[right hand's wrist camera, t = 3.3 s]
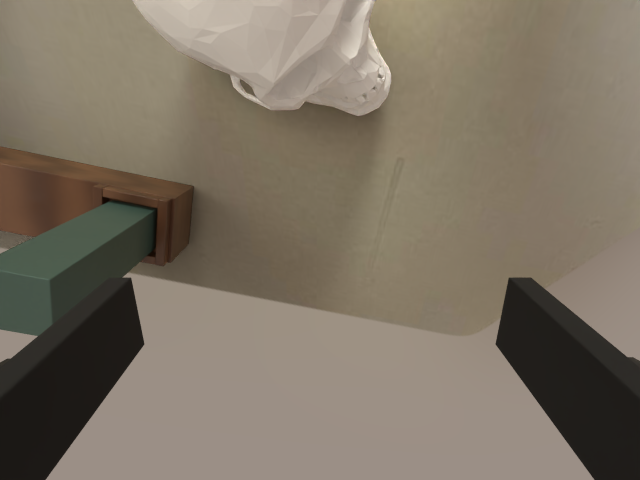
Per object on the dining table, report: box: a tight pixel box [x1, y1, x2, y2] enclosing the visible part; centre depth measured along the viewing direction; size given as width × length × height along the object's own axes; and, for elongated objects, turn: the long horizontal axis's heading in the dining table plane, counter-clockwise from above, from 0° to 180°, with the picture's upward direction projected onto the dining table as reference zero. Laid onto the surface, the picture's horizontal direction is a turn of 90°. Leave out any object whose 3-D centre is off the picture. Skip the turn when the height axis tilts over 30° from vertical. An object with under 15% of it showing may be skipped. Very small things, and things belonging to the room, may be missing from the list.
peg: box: [0, 200, 157, 336], centre depth 27 cm, size 4×4×14 cm
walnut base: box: [0, 147, 194, 266], centre depth 35 cm, size 24×6×6 cm, turn 78°
